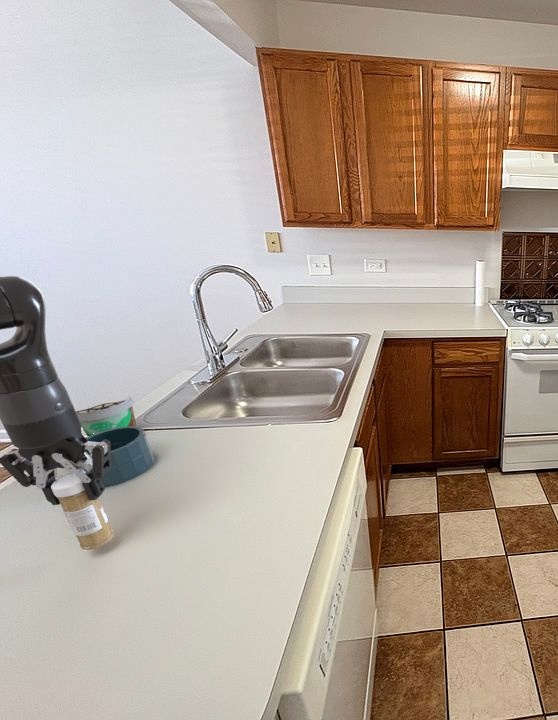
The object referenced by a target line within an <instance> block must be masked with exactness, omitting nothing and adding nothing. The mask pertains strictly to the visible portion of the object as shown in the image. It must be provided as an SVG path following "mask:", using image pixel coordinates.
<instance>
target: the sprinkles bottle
mask: <svg viewBox="0 0 558 720" xmlns="http://www.w3.org/2000/svg"><path fill="white" fill-rule="evenodd" d="M83 483H84V482H82V481H81V480H80V479H79V478H78V477H77V476H76V475H75V474H70V473H69V474H66V475H63V476H61V477H59V478H57V479H56V481H55V482H54V483H53V484H52V485H51V489H52V491H53V493H54V495H55V496H56V497H57V498H58V499H59V502H60V504H59V505H60V506H61V508H62V511H63V514H64V516H65V518H66V519H67V522H68V524H69V525H70V528H71V530H72V532H73V534H74V535H75V537H76V539H77V541H78V543H79V547H80V548H81V550H85V551H89V550H95V549H97V548H99V547H102V546H103V545H104V546H105V545H107V543H108V542H110V541H111V540H112V539H113V538H114V536H115V531H114V529H113V528H112V526H111V525H110V522H109V519H108V516H107V514H106V512H105V508H104V506H103V505H102V504H101V501H100V499H99V498H98V499H97V500H89V498H88V495H87V493H86V491H85V489H84V486H83Z"/></svg>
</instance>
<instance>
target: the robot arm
mask: <svg viewBox="0 0 558 720" xmlns="http://www.w3.org/2000/svg"><path fill="white" fill-rule="evenodd" d="M46 309H47V308H46V300H45V297H44V294H43V292H42V291H41V290H40V288H39V287H38V286H37V285H35V283H33V282H32V281H30V280H28V279H27V278H24V277H22V276H16V275H8V276H7V275H5V276H0V331H2V330H8V329H13V328H16V329H15V333H14V334H13V336H11V338H10V339H8V340H5V341H3V342H1V343H0V422H1V424H2V426H3V427H4V429H5V432H6V434H7V436H8V438H9V440H10V441H11V444H12V445H13V447H15V448H13V449H10V450H9V451H7V452H6V453H4V454H3V455H2V456H0V465H1V466H2V467H3V468H4V469H5V470H6V471H7V472H8V473H9V474H10V475H11V476H12V477H13V478H14V479H15V481H17V482H18V483H19V485H21V486H22V487H24V488H29V487H31V486H36V488H38V489H41V491H42V493H43V496H44V497H45V499H46V501H47V502H48V503H50V504H51V505H52V506H60V505H61V504H60V502H59V499H58V498H57V497H56V496H55V495H54V493H53V491H52V489H51V485H52V484H53V483H54V482H55V481H56V480H57V479H56V478H57V474H58V473H57V471H58V469H65V470H66V471H67V472H68V473H69V474H75V475H76V476H77V477H78V478H79V479H80V480H81V481H82V482H84V483H83V486H84V489H85V491H86V493H87V495H88V498H89V500H97V499H99V498H100V497H101V496H102V495H103V493H104V492H105V488H106V487H104V486H103V484H102V481H101V479H100V478H101V477H102V476H103V475H104V474H105V473H106V472H107V471H108V470H109V469H110V468H111V442H110V441H109V440H106V439H105V440H102V441H101V442H89V441H88V439H87V437H85V436H84V435H83V433H82V427H81V423H80V421H79V418H78V416H77V414H76V411H77V410H76V409H75V406H74V404H73V402H72V399H71V397H70V395H69V392H68V390H67V389H66V386H65V385H64V383H63V382H62V381H61V379H60V377H59V375H58V372H57V370H56V367H55V366H54V363H53V360H52V358H51V356H50V353H49V349H48V343H47V336H46V317H47V315H46V313H47V311H46ZM86 450H88V451H89V453H90V454H88V453H87V452H86ZM91 457H92V458H91ZM79 460H80V463H79V464H78V465H76V463H77V462H78V461H79ZM85 469H86V470H87V471H88V473H87V472H86V471H85ZM26 473H27V474H26Z"/></svg>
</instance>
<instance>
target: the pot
mask: <svg viewBox="0 0 558 720" xmlns="http://www.w3.org/2000/svg"><path fill="white" fill-rule="evenodd" d="M86 438H87V439H88V441H89V442H101V441H102V440H105V439H106V440H109V441H110V442H111V468H110V469H109V470H108V471H107V472H106V473H105V474H104V475H103V476H102V477H101V478H100V479H101V481H102V484H103V486H104V488H108V487H113V486H117V485H119V484H122V483H126V482H128V481H131V480H133V479H135V478H137V477H139V476H140V475H142V474H143V473H145V472H147V471H148V470H149V469H150V468H151V467H152V466H153V464H154V462H155V458H154V453H153V451H152V448H151V445H150V443H149V440H148V437H147V434H146V431H145V429H143V428H142V427H140V426H137V427H135V426H127V427H118V428H114V429H109V430H105V431H102V432H100V433H97V434H94V435H91V436H89V437H88V436H87V437H86ZM86 452H87V453H88V454H90V453H89V451H88V450H86ZM91 458H92V457H91ZM79 463H80V460H79V461H78V462H77V463H76V465H78V464H79ZM85 471H86V472H87V473H88V471H87V470H86V469H85Z"/></svg>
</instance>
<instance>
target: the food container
mask: <svg viewBox="0 0 558 720" xmlns="http://www.w3.org/2000/svg"><path fill="white" fill-rule="evenodd" d="M135 403H136V402H135V400H134V398H133V397H131V396H130V395H128V397H127V398H126V399H124V400H120V401H115V402H107V403H101V404H98V405H95V406H93V407H88V408H86V409H85V408H84V409H81V410H75V411H76V414H77V416H78V418H79V421H80V423H81V429H82V430H83V432H84V433H85V435H86V436H87V437H88V436H91V435H94V434H97V433H100V432H102V431H105V430H109V429H114V428H118V427H127V426H135V427H138V426H137V421H136V417H135V411H134V407H133V406H134V405H135ZM93 433H94V434H93Z"/></svg>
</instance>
